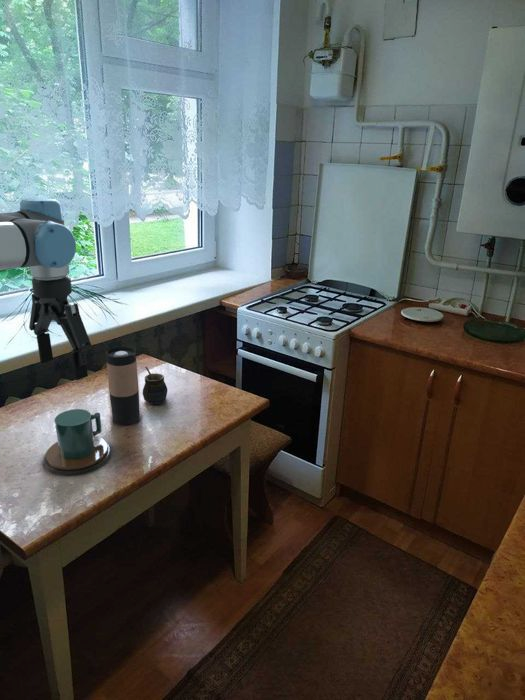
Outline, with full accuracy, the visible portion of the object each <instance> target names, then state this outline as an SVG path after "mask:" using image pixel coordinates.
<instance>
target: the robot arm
mask: <svg viewBox="0 0 525 700" xmlns="http://www.w3.org/2000/svg"><path fill="white" fill-rule="evenodd" d="M76 252H77V243H76V238H75V235H74V234H73V232H72V230H71V229H70V228H69V227H67V226H66V225H65V220H64V213H63V209H62V205H61V202H60V201H59V200H58V199H55V198H51V197H32V198H31V197H30V198H23V199H21V200H20V202H19V210H17V211H13V212H12V211H11V212H0V271H3V270H11V269H21V268H29V273H30V276H31V277H32V279H31V285H32V292H33V293H32V294H31V301H32V303H31V310H30V317H29V324H28V328H29V330H30V331H33V333H34V335H36V342H37V349H38V354H39V355H38V356H39V360H40V363H41V364H44V363H45V364H46V363H48V362H51V361H53V360H54V356H53V348H52V342H51V341H52V340H51V333H49V332H50V329H49V327H50V325H51V323H52V321H55V323H56V324H57V325H58V326H60V327H61V329H62V331H63V332H64V335H65V336H66V338H67V340H68V342H69V344H70V346H71V348H72V350H71V351H70V353H71V360H72V367H73V377H74V380H75V381H79V380H82V379H84V378H87V377H89V373H88V365H87V363H88V361H87V352H86V351H88V350H91V349H92V348H93V345H92V343H91V340H90V337H89V335H88V332H87V330H86V326H85V325H84V322H83V319H82V317H81V314H80V310H79V309H80V308H79V305H78V303H77V302H74V303H69V300H68V297H69V296H70V295H71V294H72V292H73V287H72V280H71V277H70V275H69V274H70V266H69V264H70V263H71V262H72V261H73V260H74V258H75V255H76Z"/></svg>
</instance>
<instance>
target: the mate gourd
mask: <svg viewBox="0 0 525 700" xmlns="http://www.w3.org/2000/svg"><path fill="white" fill-rule="evenodd" d="M145 370H146V371H147V373H148V374H147V375H145V376H144V385H143V388H142V397H143V400H144V401H145V402H147V404H149V405H153V406H154V405H161V404H162V403H164V402H165V401H166V399H167V396H168V386H167V384H166V382H165V376H164V375H163V374H162V373H157V372H154V373H153V372H152V373H151V372H150V369H149V368H148V366H145Z"/></svg>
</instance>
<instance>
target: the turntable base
mask: <svg viewBox="0 0 525 700" xmlns="http://www.w3.org/2000/svg"><path fill="white" fill-rule="evenodd" d="M106 443H107V445H108V451H107V454H106V455H105V457H104V458H103V459H102V460H100V461H99V462H97V463H96V464H94V465H91V466H89V467H86V468H82V469H77V470H61V469H56V468H54V467H52V466H50V465H49V464H48V463H47V461H46V453H45V454H44V456H43V462H44V466H45V468H46V470H48V471H49V472H51V473H52V474H55V475H59V476H77V475H82V474H83V475H84V474H87V473H91V472H92V471H94V470H97V469H99V468H100V467H102V466H103V465H105V464H106V463H107V461H108V460H109V458H110V456H111V447H110V445H109V443H108V442H107V441H106Z"/></svg>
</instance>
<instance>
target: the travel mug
mask: <svg viewBox="0 0 525 700" xmlns="http://www.w3.org/2000/svg"><path fill="white" fill-rule="evenodd" d="M105 356H106V368H107V381H108V394H109V399H110V400H109V401H110V407H111V413H112V414H111V416H112V420H113V423H114V424H116V425H118V426H128V425H133V424H135V423H136V422H138V421H139V420H140V389H139V378H138V377H139V376H138V367H137V364H138V363H137V351H136V349H135V348H133V347H129V346H116V347H112V348H110V349H108V350H107V351H106V353H105Z"/></svg>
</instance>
